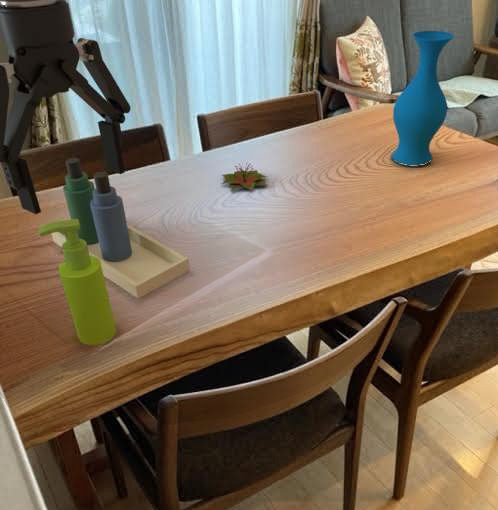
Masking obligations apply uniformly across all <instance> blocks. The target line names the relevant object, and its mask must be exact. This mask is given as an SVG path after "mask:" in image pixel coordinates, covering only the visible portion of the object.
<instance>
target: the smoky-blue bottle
mask: <svg viewBox="0 0 498 510" xmlns="http://www.w3.org/2000/svg"><path fill="white" fill-rule="evenodd" d="M93 180H94V186H95V189H94V190H93V192H92V193H93V198H94V199H92V200H91V202H90V206H91V210H92V214H93V219H94V223H95V227H96V232H97V236H98V240H99V244H100V249H101V253H102V257H103V259H104V260H106V261H109V262H120V261H123V260H126V259H128V258H129V257H130V256H131V255H132V249H131V243H130V238H129V233H128V227H127V224H128V223H127V217H126V212H125V206H124V201H123V197H121V196H120V195H118V194H117V190H116V187H114V186H111V183H110V178H109V173H108V172H106V171H97V172H95V173H94V174H93Z"/></svg>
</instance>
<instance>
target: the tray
mask: <svg viewBox="0 0 498 510" xmlns="http://www.w3.org/2000/svg"><path fill="white" fill-rule="evenodd" d="M127 227H128V233H129V238H130V243H131V249H132V255H131V256H130V257H129V258H128V259H126V260H123V261H120V262H109V261H106V260H104V259H103V257H102V253H101V249H100V244H99V243H96V244H93V245H87V247H88V251H89V255H91V256H95V257H97V258H98V259H99V260H100V262H101V266H102V270H103V275H104V278H106V279H108V280H110V281H111V282H112V283H114V284H115V285H117V286H118V287H120V288H122V289H123V290H124V291H126V292H128V293H129V294H130V295H132V296H133V297H135V298H136V299H140V298H142V297H144V296H145V295H148V294H149V293H152V292H153V291H155V290H156V289H159V288H161V287H162V286H164V285H165V284H167V283H169V282H172V281H173V280H175V279H178V278H179V277H180V276H182V275H184V274H186V273H188V272H189V271H190V260H189V257H186V256H185V255H183V254H181V253H180V252H178V251H176V250H174V249H172V248H170V247H169V246H167V245H165V244H163V243H162V242H160V241H158V240H156V239H155V238H153V237H151V236H149V235H147V234H146V233H144V232H142V231H140V230H138V229H137V228H135V227H133V226H131V225H130V224H128V223H127ZM51 237H52V240H53V242H54V243H55V244H56V245H57V246H59V247H61V248H62V244H63V243H64V242H66V238H65V234H64V231H61V232H54V233H51Z"/></svg>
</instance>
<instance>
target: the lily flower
mask: <svg viewBox="0 0 498 510" xmlns="http://www.w3.org/2000/svg"><path fill="white" fill-rule="evenodd" d="M243 163H244V162H242V163H241V164H242V165H244V164H243ZM237 164H238V166H239V167H238V166H237V165H234V168H235V169H236V171H234V172H233V173H226V174H221V176H222V177H223V178H224V180H223V182H221V183H220V185H225V184H230V185H229V187H230V191H231V192H234V191H236V190H240V189H242V188H246V189H248V190H250V191H251V192H253V190H254V187H256V186H269V184H268V183H267V182H266V181H265V180H263V178H264V179H265V178H267V176H266V175H264V174H262V173H260V172H259V171H258V169H254V166H253V165H252V166H251V163H249V164H248V162H246V164H245V166H246V167H245V168H243V167H242V165H241V164H240V163H237ZM247 165H248V166H247ZM244 169H245V170H244Z"/></svg>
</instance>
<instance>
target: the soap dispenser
mask: <svg viewBox="0 0 498 510" xmlns="http://www.w3.org/2000/svg"><path fill="white" fill-rule="evenodd" d="M77 229H80V224H79V219H72V220H71V219H63V220H57V221H56V220H55V221H52V222H49V223H46V224H43V225H41V226H39V227H38V228H37V230H38V231H37V232H38V233H37V234H38V235H39V236H40V237H44V236H48V235H51V234H52V233H54V232H61V231H64V234H65V238H66V242H64V243H63V244H62V247H61V250H62V251H61V252H62V255H63V258H64V261H62V262H61V263H60V264H59V266H58V269H57V270H58V274H59V278H60V281H61V284H62V287H63V291H64V295H65V298H66V301H67V304H68V308H69V310H70V314H71V318H72V322H73V324H74V327H75V332H76V334H77V338H78V340H79V342H81V343H82V344H84V345H88V346H99V345H102V344H103V345H102V347H105V346H107V345H108V344H109V345H110V343H112V342H113V340H114V339H113V338H114V337H115V335H116V334H117V326H116V323H115V318H114V314H113V310H112V304H111V301H110V297H109V291H108V287H107V284H106V279H105V276H104V275H103V270H102V266H101V262H100V260H99V259H98V258H97V257H95V256H91V255H89V251H88V247H87V243H86V241H85V240H83V239H79V237H78V233H77Z"/></svg>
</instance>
